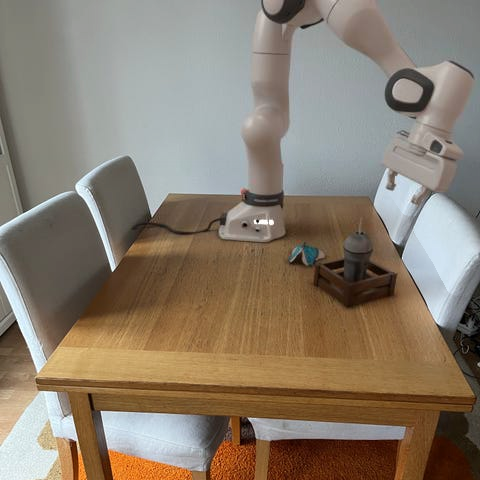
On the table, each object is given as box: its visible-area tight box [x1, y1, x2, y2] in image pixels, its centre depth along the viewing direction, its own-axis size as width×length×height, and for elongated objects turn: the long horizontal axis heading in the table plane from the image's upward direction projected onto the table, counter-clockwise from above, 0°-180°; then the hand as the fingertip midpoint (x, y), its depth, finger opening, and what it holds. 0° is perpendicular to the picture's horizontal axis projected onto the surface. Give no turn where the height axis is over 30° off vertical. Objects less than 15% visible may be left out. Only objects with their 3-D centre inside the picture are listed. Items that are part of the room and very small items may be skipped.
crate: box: [313, 257, 398, 309], centre depth 123 cm, size 15×15×6 cm
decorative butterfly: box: [288, 236, 326, 267], centre depth 140 cm, size 10×6×10 cm
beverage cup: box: [342, 215, 374, 295], centre depth 119 cm, size 7×7×20 cm
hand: (401, 196), depth 118 cm, fingers open, 8 cm apart
